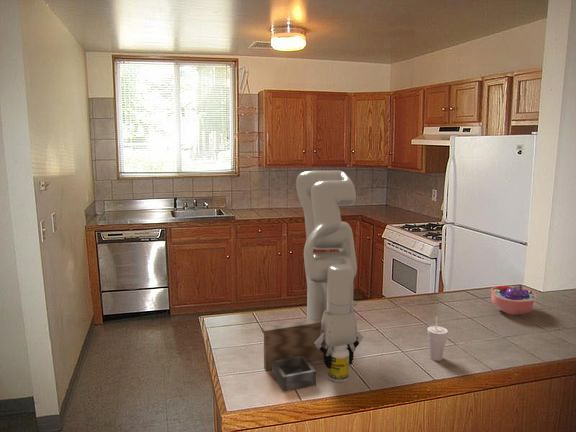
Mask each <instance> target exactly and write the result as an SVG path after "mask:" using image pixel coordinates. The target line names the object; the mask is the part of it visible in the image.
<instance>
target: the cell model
mask: <svg viewBox="0 0 576 432" xmlns="http://www.w3.org/2000/svg"><path fill="white" fill-rule="evenodd" d="M490 296H491V297H490V299H491V302H492V304H493V305H494V307H495V308H497V309H498V310H500V311H502V312H504V313H505V314H508V315H510V316H511V315H512V316H517V315H518V316H519V315H525V314H529V313H530V312H531V311H533V309H534V308H535V304H536V300H537V298H538V295H537V294H536V293H535V292H534V291H533V290H530V289H528V288H525V287H523V286H522V285H520V286H519V285H497V286H496V285H495V286H493V287H491V288H490Z"/></svg>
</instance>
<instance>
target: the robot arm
mask: <svg viewBox="0 0 576 432" xmlns="http://www.w3.org/2000/svg"><path fill="white" fill-rule="evenodd" d="M295 182H296V183H295V186H296V187H295V188H296V194H297V196H298V197H297V198H298V199H299V202H300V204H301V207H302V210H303V213H304V214H303V215H304V225H305V226H304V227H305V234H306V237H305V238H306V240H305V244H304V247H303V263H304V271H305V277H306V293H307V294H306V295H307V297H306V298H307V300H306V302H307V303H306V321H308V320H314V319H321V318H322V322H321V332H320V336H319V338H318V339H317V340H316V341H315V342H314V345H315V346H316V347H317V348H318V349H319V350H320V351H321V352H323V353H324V360H323V365H325V366H326V368H327V370H328V369H331V355H330V353H331V350H332V348H333V347H335V346H340V345H346V344H347V349H348V351H349V366H350V365H353V360H354V352H355V351H356V348H358V346H359V345H360V343H361V342H362V340H363V339H364V336H363V334H361V333H360V332H359V331H358V330H357V329H358V326H357V325H358V324H357V318H356V313H355V310H354V307H355V306H357V301H356V300H354V279H355V277H356V275H357V269H358V264H357V256H356V249H355V241H354V234H353V230H352V227H351V226H350V224H349V223H348V222H346V221H342V217H341V211H340V207H351V206H352V205H354V204H355V203H356V198H357V197H356V196H357V194H356V193H357V192H356V188H355V185H354V183H353V181H352V179H351V177H350V176H348V174H347V173H346V172H344V171H343V170H337V169H336V170H307V171H303V172H301V173H299V174H298V175H297V177H296V181H295ZM314 250H338V251H332V252H331V251H326V252H325V251H324V252H315V253H314ZM322 342H325V344H324V347H323V346H321V343H322Z"/></svg>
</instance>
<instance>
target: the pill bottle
mask: <svg viewBox="0 0 576 432" xmlns="http://www.w3.org/2000/svg"><path fill="white" fill-rule="evenodd" d="M330 355H331V369H328V368H327V377H328V379H329V380H331V381H333V382H334V383H335V382H336V383H342V382H343V383H344V382H345V381H347V380H348V379H349V376H350V374H349V373H350V368H349V367H350V364H349V351H348V349H347V344H346V345H340V346H335V347H333V348H332V350H331V353H330Z"/></svg>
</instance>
